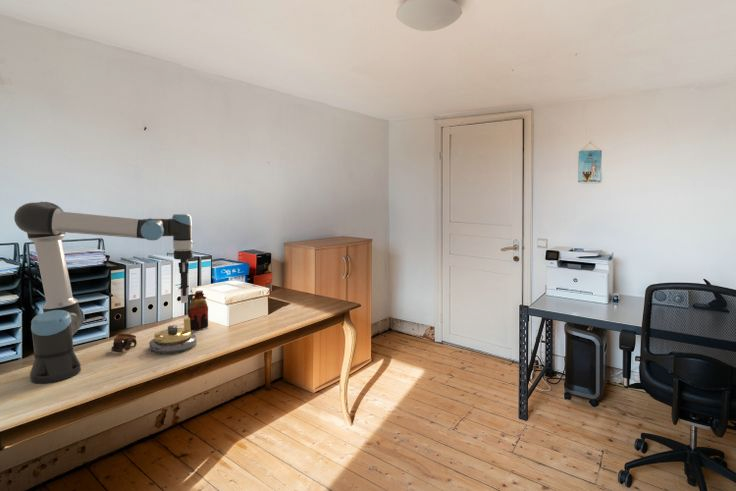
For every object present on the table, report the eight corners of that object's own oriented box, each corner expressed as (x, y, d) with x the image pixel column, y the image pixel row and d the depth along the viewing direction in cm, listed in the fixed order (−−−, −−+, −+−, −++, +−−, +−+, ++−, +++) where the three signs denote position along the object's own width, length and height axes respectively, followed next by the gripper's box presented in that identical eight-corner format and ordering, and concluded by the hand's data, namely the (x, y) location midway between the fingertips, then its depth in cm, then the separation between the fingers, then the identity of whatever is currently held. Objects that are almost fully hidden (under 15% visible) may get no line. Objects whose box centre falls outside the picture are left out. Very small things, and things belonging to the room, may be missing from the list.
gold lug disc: (155, 347, 172) (154, 327, 171) (153, 336, 185) (152, 318, 184) (193, 341, 179) (192, 322, 178) (189, 331, 192) (188, 313, 191)
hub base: (161, 358, 169) (160, 337, 168) (142, 347, 181) (141, 327, 180) (204, 345, 184) (203, 326, 183) (184, 335, 196) (183, 317, 195)
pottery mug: (105, 352, 177) (111, 333, 180) (127, 355, 183) (133, 337, 187) (118, 351, 170) (124, 331, 173) (140, 354, 177) (146, 335, 180)
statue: (206, 324, 214) (205, 287, 212) (209, 328, 208) (208, 290, 205) (181, 328, 207) (180, 289, 205) (184, 332, 201) (183, 292, 198)
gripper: (193, 251, 173) (194, 305, 175) (191, 247, 184) (193, 298, 187) (173, 251, 169) (175, 306, 172) (173, 248, 181) (175, 299, 184)
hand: (184, 302), depth 180 cm, fingers closed
